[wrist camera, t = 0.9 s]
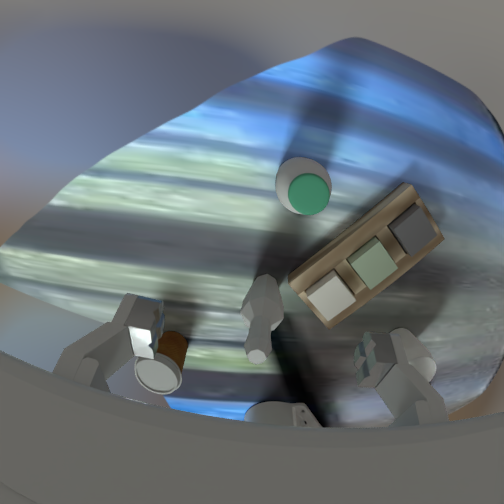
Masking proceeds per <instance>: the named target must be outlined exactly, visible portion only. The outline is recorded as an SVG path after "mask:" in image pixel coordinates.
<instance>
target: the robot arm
mask: <svg viewBox="0 0 504 504" xmlns="http://www.w3.org/2000/svg"><path fill="white" fill-rule="evenodd" d="M163 309H164V302H163V301H161V300H156V299H152V298H148V297H143V296H138V295H134V294H130V293H127V294H126V295H125V296H124V298H123V300H122V302H121V304H120V306H119V308H118V310H117V312H116V314H115V316H114V318H113V320H112V322H107V323H105V324H103V325H102V326H100V327H99V328H97V329H95V330H94V331H92V332H90V333H89V334H87V335H86V336H84V337H82V338H81V339H79V340H78V341H76V342H74V343H73V344H71V345H69V346H68V347H66V348H65V349H64V351H63V352H62V354H61V356H60V358H59V360H58V362H57V364H56V366H55V368H54V370H53V372H52V373H51V372H48V371H46V370H43V369H41V368H38V367H36V366H34V365H31V364H29V363H27V362H24V361H22V360H20V359H18V358H15V357H13V356H11V355H9V354H7V353H5V352H2V351H0V504H504V412H501V413H496V414H491V415H486V416H481V417H475V418H470V419H463V420H456V421H449V419H448V415H447V411H446V407H445V403H444V399H443V398H442V397H441V396H440V394H439V393H438V392H437V391H436V390H435V389H434V388H433V387H432V386H431V385H430V384H429V383H428V382H427V380H426V379H425V378H424V377H423V376H422V375H421V374H420V373H419V372H418V371H417V370H416V369H415V368H414V367H413V366H412V365H411V364H409V363H408V360H407V356H406V353H405V350H404V346H403V343H402V340H401V336H400V335H399V334H392V333H381V332H369V331H367V332H366V333H365V334H364V335H363V337H362V338H363V341H362V342H360V343H359V344H358V345H357V347H356V349H355V352H354V365H355V366H356V367H357V369H358V371H357V373H356V379H357V385H358V387H369V388H375V389H376V391H377V392H378V394H379V395H380V397H381V398H382V400H383V401H384V403H385V404H386V405H387V407H388V408H389V410H390V411H391V413H392V414H393V416H394V417H395V419H396V420H395V421H394V422H393V423H392V424H391V425H389V426H388V427H379V428H322V426H321V425H320V423H319V422H318V421H317V419H316V418H315V417H314V415H313V414H312V412H311V411H310V410H309V408H308V407H307V406H306V404H304V403H285V402H279V401H269V402H263V403H259V404H257V405H255V406H253V407H251V408H250V409H249V410H248V411H247V412H246V414H245V417H244V421H239V420H232V419H225V418H218V417H212V416H206V415H201V414H195V413H190V412H185V411H180V410H175V409H171V408H166V407H161V406H157V405H153V404H149V403H145V402H141V401H137V400H134V399H130V398H126V397H123V396H119V395H116V394H112V393H111V392H110V390H109V387H108V385H107V382H106V380H107V379H108V378H109V377H110V376H111V375H113V374H114V373H115V372H116V371H117V370H118V369H119V368H121V367H122V366H123V365H124V364H126V363H127V362H128V361H129V360H130V359H131V358H133V357H134V355H135V356H140V357H144V358H149V359H154V358H155V355H156V352H157V349H158V340H159V339H160V338H161V337H162V334H163V330H164V324H165V315H164V314H163V313H162V312H163Z"/></svg>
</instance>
